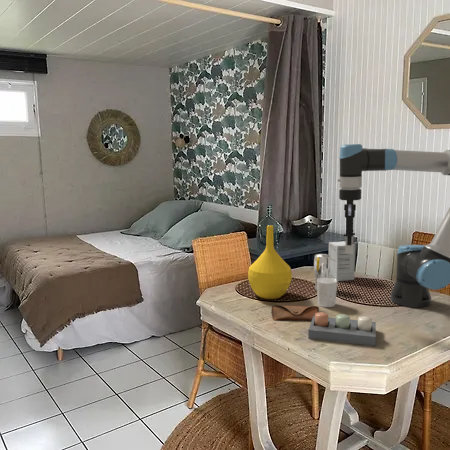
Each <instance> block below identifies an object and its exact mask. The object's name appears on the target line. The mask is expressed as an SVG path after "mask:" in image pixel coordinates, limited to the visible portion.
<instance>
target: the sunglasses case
mask: <svg viewBox="0 0 450 450" xmlns="http://www.w3.org/2000/svg"><path fill="white" fill-rule="evenodd" d="M318 312H320V307H319V306H318V305H317V306H316V305H312V306H310V305H309V306H303V305H279V304H274V305H272V306H271V312H270V313H271V316H272V317H271V318H272V321H273V322H281V321H284V322H285V321H287V322H288V321H289V322H311V321H312V318H313V316H315V313H318Z"/></svg>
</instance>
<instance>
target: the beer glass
mask: <svg viewBox="0 0 450 450" xmlns="http://www.w3.org/2000/svg"><path fill="white" fill-rule="evenodd" d="M313 269H314V276H315V277H314V278H315V284H314V290H316V291H317V279H319V278H330V277H329V272H330V255H329V254H327V253H316V254H314V259H313Z"/></svg>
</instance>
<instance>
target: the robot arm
mask: <svg viewBox="0 0 450 450" xmlns="http://www.w3.org/2000/svg"><path fill="white" fill-rule="evenodd" d="M369 171H370V172H375V171H376V172H378V171H381V172H383V171H384V172H386V171H403V172H405V171H407V172H424V173H425V172H427V173H441V175H443V176H450V149H446V150H444V151H443V152H441V151H423V150H422V151H421V150H403V149H402V150H400V149H398V150H397V149H393V148H363V144H360V143H354V144H353V143H352V144H351V143H350V144H347V143H346V144H342V145H341V146H340V150H339V179H337V182H339V194H338V196H339V197H338V198H339V200H340V201H346V203H345V204H344V205H343V206H344V207H343V209H344V218H345V233H344V234H343V237H345V240H344V241H345V254H353V244H354V236H356V233H355V232H354V218H355V216H356V210H357V208H356V207H357V205H356V204H357V203H354V201H360V200H361V199H362V189H361V188H362V187H363V186H362V183H363V180H362V179H363V175H362V172H369ZM397 248H398V249H397V253H396V255H397V257H396V258H397V259H396V275H395V276H396V277H395V278H396V279H395V283H394V286H393V288H392V291H391V294H390V301H391V302H392V303H394V304H396V305H399V306H403V307H409V308H424V307H429V306H431V304H432V296H431V293H430V290H433V291H436V290H441V289H444V288H446V287H447V286H449V285H450V207H449V208H448V209H447V212H446V213H445V215H444V217H443V219H442V221H441V223H440V225H439V226H438V229H437V230H436V232H435V234H434V236H433V238H432V239H431V241H430V243H428V244H401V245H400V246H398V247H397Z"/></svg>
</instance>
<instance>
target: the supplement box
mask: <svg viewBox="0 0 450 450" xmlns="http://www.w3.org/2000/svg"><path fill="white" fill-rule="evenodd" d="M345 241H346V240H343V241H329V242H328V255H330V272H329V277H328V278H333V279H336V280H337V282H343V281H344V282H346V281H354V280H355V267H356V266H355V264H356V244H355V243H353V254H345Z"/></svg>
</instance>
